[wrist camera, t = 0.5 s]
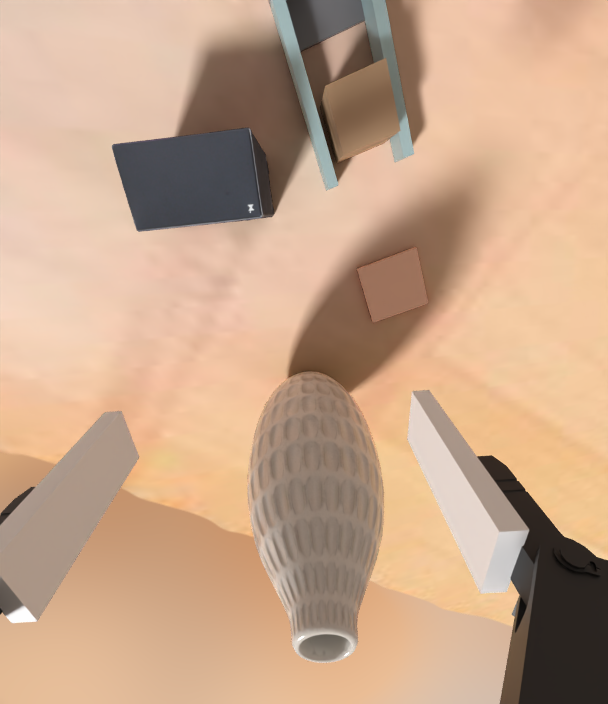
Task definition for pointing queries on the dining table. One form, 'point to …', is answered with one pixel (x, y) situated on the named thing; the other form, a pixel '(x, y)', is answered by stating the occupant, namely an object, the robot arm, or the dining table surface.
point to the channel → (318, 25)
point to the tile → (393, 285)
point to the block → (360, 111)
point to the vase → (316, 510)
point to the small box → (195, 179)
